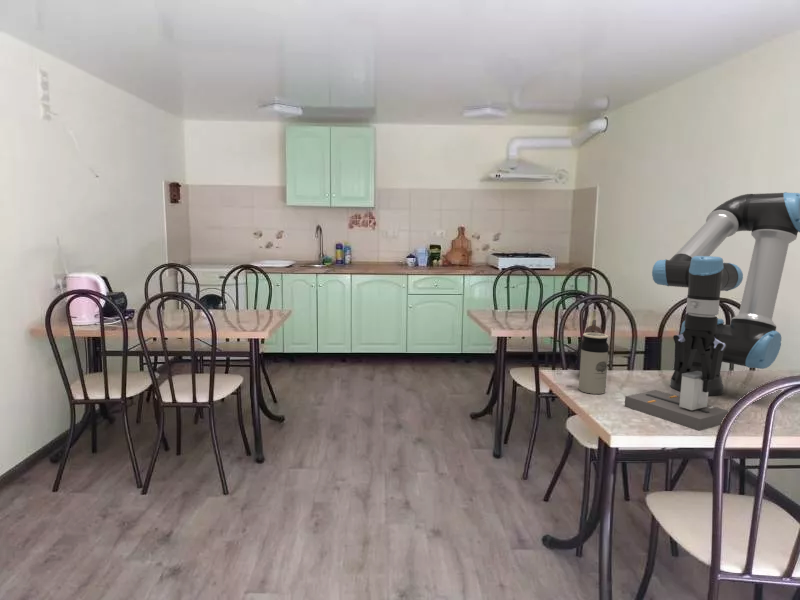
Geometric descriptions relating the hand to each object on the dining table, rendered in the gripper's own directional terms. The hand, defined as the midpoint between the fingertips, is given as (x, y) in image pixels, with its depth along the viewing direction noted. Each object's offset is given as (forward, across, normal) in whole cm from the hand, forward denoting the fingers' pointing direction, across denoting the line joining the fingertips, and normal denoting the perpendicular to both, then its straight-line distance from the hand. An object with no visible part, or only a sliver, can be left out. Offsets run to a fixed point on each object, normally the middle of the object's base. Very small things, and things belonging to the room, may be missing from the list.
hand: (693, 400), depth 148 cm
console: (+5, -5, 0) cm, 7 cm away
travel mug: (+5, -31, -3) cm, 31 cm away
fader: (+2, 0, 0) cm, 2 cm away
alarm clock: (+5, -43, +10) cm, 44 cm away
